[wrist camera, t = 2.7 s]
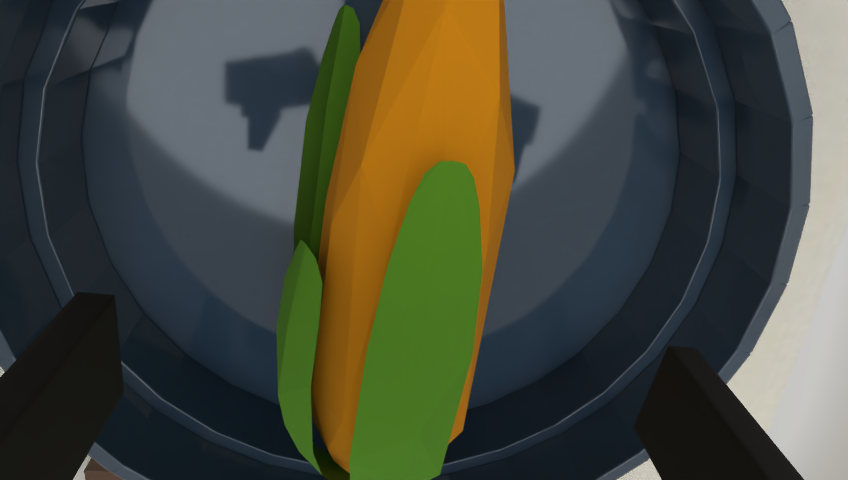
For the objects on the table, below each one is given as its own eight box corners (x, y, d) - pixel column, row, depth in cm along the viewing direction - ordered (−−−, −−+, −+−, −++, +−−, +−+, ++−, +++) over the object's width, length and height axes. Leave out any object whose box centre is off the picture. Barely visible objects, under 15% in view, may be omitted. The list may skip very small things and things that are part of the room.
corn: (260, 569, 18) (276, -165, 9) (279, 403, 25) (299, -121, 16) (477, 559, 20) (669, -88, 11) (440, 404, 26) (541, -77, 18)
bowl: (-5, -275, 15) (-221, -402, 9) (816, -98, 18) (1001, -118, 13) (91, 414, 25) (16, 536, 20) (595, 445, 29) (644, 557, 23)
